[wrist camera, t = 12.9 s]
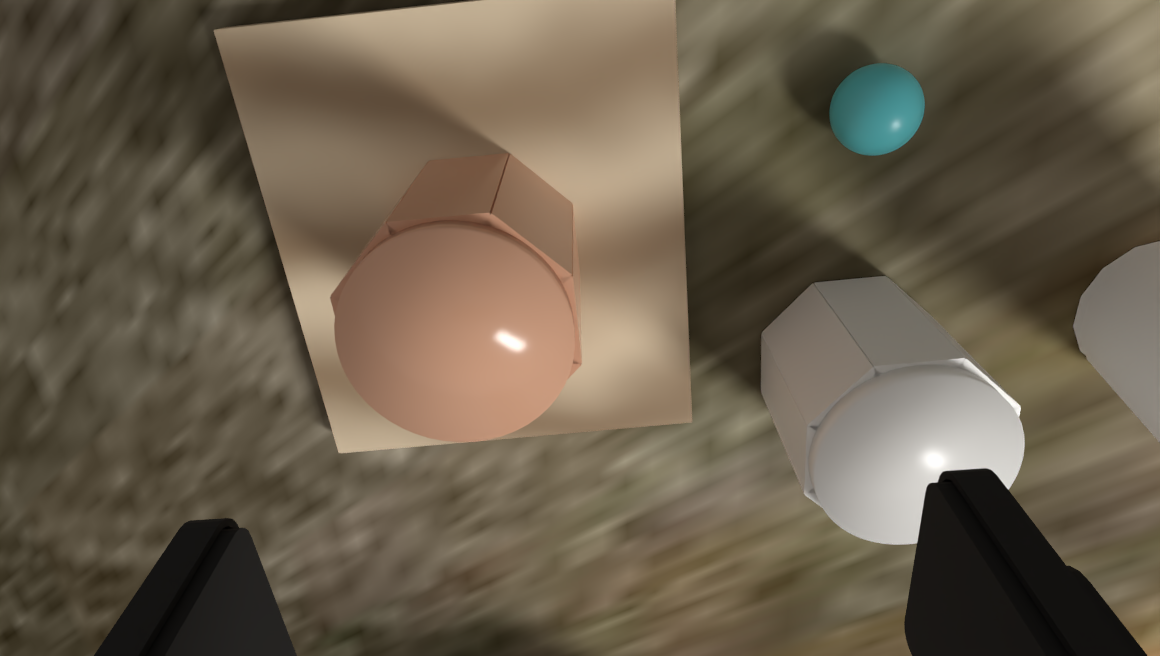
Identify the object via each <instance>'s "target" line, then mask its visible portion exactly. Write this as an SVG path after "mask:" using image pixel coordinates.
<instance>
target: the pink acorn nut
mask: <svg viewBox="0 0 1160 656" xmlns="http://www.w3.org/2000/svg"><path fill="white" fill-rule="evenodd" d="M330 300H331V303H332V307H333V311H334V315H335V322H334V334H335V343H336V349H337V354H338V356H339V359H340V362H341V365H342V368H343V370H344V372H345V374H346V376H347V378H348V380H349V381H350V383H351V384H352V385H353V387H354V388H355V390H356V391H357V393H358V394H359V395H360V396H361V397H362V398H363V399H364V401H365V402H366V403H367V404H368V405H370V406H371V407H372V408H373V409H374V410H375V411H376V412H377V413H379V414H380V415H382V416H383V417H384V418H386V419H387V420H388V421H390V422H392V423H394V424H396V425H397V426H399V427H401V428H403V429H405V430H408V431H410V432H412V433H415V434H418V435H421V436H424V437H427V438H431V439H436V440H442V441H450V442H476V441H484V440H490V439H493V438H497V437H501V436H504V435H507V434H509V433H512V432H515V431H517V430H519V429H520V428H522V427H524V426H526V425H528V424H529V423H531V422H532V421H534V420H535V419H536V418H538V417H539V416H540V415H541V414H542V413H544V412H545V411H546V410H547V409H548V408H549V407H550V406H551V404H552V403H553V402H554V401H555V400H556V398H557V397H558V396H559V394H560V392H561V391H562V389H563V387H564V386H565V383H566V381H567V380H568V379H569V378H570V376H571V375H572V374H573V373H574V372H575V371H576V370H577V369H578V368H579V367H580V366H581V363H582V340H581V291H580V269H579V259H578V249H577V239H576V229H575V219H574V209H573V205H572V202H570V201H569V200H568V199H567V198H565V197H564V196H563V195H562V194H560V193H559V192H558V191H557V190H555V189H554V188H553V187H552V186H550V185H549V184H548V183H547V182H545V181H544V180H543V179H542V178H540V177H539V176H538V175H537V174H535V173H534V172H533V171H532V170H530V169H529V168H528V167H527V166H525V165H524V164H523V163H522V162H520V161H519V160H518V159H517V158H515V157H514V156H513V155H512V154H510V155H509V153H503V154H493V155H482V156H471V157H461V158H450V159H439V160H429V162H427V163H426V164H425V166H424V167H423V169H422V170H421V171H420V173H419V174H418V175H417V177H416V178H415V179H414V181H413V182H412V183H411V185H410V186H409V187H408V189H407V190H406V191H405V193H404V194H403V195H402V197H401V198H400V199H399V201H398V202H397V203H396V205H395V206H394V207H393V209H392V210H391V211H390V213H389V214H388V215H387V217H386V218H385V219H384V221H383V222H382V224H381V225H380V226H379V228H378V229H377V231H376V232H375V233H374V235H373V236H372V238H371V239H370V241H369V242H368V243H367V245H366V246H365V248H364V249H363V250H362V252H361V253H360V255H359V256H358V257H357V259H356V260H355V262H354V263H353V265H352V266H351V267H350V269H349V270H348V272H347V273H346V274H345V276H344V277H343V279H342V280H341V281H340V283H339V284H338V286H337V287H336V289H335V290H334V291H333V293H332V294H331V297H330Z"/></svg>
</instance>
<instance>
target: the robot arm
mask: <svg viewBox="0 0 1160 656" xmlns="http://www.w3.org/2000/svg"><path fill="white" fill-rule="evenodd" d="M905 635H906V640H907V643H908V646H909V649H910V652H911V654H912V656H1147V654H1146V653H1145V652H1144V651H1143V649H1142V648H1141V647H1140V646H1139V644H1138V643H1137V642H1136V640H1135V639H1134V638H1133V637H1132V635H1131V634H1130V633H1129V631H1128V630H1127V629H1126V628H1125V626H1124V625H1123V624H1122V623H1121V621H1120V620H1119V619H1118V617H1117V616H1116V615H1115V614H1114V612H1113V611H1112V610H1111V608H1110V607H1109V606H1108V605H1107V603H1106V602H1105V601H1104V599H1103V598H1102V597H1101V596H1100V594H1099V593H1098V592H1097V591H1096V589H1095V588H1094V587H1093V585H1092V584H1091V583H1090V582H1089V581H1088V579H1087V578H1086V577H1085V576H1084V575H1083V574H1082V573H1081V572H1080V571H1078V570H1076V569H1074V568H1073V567H1071V566H1066V565H1065V563H1064V562H1063V561H1062V560H1061V558H1060V557H1059V556H1058V554H1057V553H1056V552H1055V550H1054V549H1053V548H1052V546H1051V545H1050V544H1049V543H1048V541H1047V540H1046V539H1045V537H1044V536H1043V535H1042V533H1041V532H1040V531H1039V529H1038V528H1037V527H1036V526H1035V524H1034V523H1033V522H1032V520H1031V519H1030V518H1029V516H1028V515H1027V514H1026V512H1025V511H1024V510H1023V509H1022V507H1021V506H1020V505H1019V503H1018V502H1017V501H1016V499H1015V498H1014V497H1013V496H1012V494H1011V493H1010V492H1009V490H1008V489H1007V488H1006V486H1005V485H1004V484H1003V482H1002V481H1001V480H1000V479H999V477H998V476H997V475H996V474H995V473H994V472H993V471H992V470H990V469H988V468H981V469H966V470H951V471H944V472H942V473H941V475H940V476H939V479H938V482H936V483H929V484H928V486H927V488H926V492H925V498H924V504H923V510H922V517H921V523H920V529H919V535H918V541H917V548H916V554H915V560H914V566H913V572H912V578H911V585H910V591H909V597H908V603H907V609H906V615H905ZM94 656H297V655H296V653H295V650H294V647H293V645H292V642H291V640H290V637H289V634H288V632H287V629H286V626H285V624H284V621H283V619H282V616H281V613H280V611H279V608H278V605H277V603H276V600H275V598H274V595H273V592H272V590H271V587H270V585H269V582H268V579H267V577H266V574H265V571H264V569H263V566H262V564H261V561H260V558H259V556H258V553H257V550H256V548H255V545H254V543H253V540H252V537H251V535H250V533H249V531H248V530H247V529H245V528H239V527H238V525H237V523H236V522H235V521H234V520H233V519H229V518H224V519H209V520H194V521H188V522H186V523H184V524H183V526H182V527H181V528H180V529H179V530H178V532H177V533H176V535H175V536H174V538H173V539H172V541H171V542H170V544H169V545H168V547H167V548H166V550H165V551H164V553H163V554H162V556H161V557H160V558H159V560H158V561H157V563H156V564H155V566H154V567H153V569H152V570H151V572H150V573H149V575H148V576H147V578H146V579H145V581H144V582H143V584H142V585H141V587H140V588H139V590H138V591H137V593H136V594H135V596H134V597H133V599H132V600H131V602H130V603H129V604H128V606H127V607H126V609H125V610H124V612H123V613H122V615H121V616H120V618H119V619H118V621H117V622H116V624H115V625H114V627H113V628H112V630H111V631H110V633H109V634H108V636H107V637H106V639H105V640H104V642H103V643H102V645H101V646H100V647H99V649H98V650H97V652H96V653H95V655H94Z"/></svg>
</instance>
